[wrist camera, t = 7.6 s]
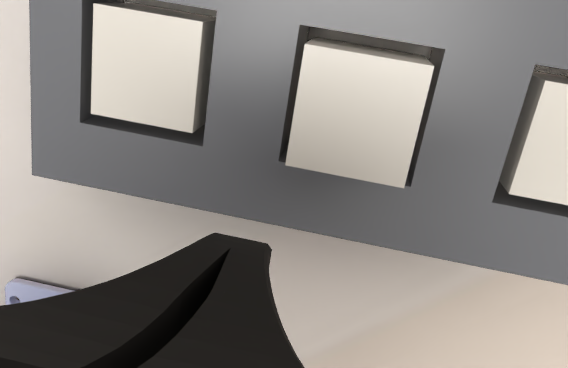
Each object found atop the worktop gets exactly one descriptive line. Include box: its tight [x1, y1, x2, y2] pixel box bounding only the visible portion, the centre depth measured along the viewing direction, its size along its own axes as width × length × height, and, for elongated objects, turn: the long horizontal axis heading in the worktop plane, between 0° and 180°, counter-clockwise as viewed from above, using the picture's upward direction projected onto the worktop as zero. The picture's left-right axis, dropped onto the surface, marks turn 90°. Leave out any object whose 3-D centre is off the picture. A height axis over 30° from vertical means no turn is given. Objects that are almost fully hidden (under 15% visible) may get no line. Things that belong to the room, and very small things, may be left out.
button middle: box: [285, 37, 434, 188], centre depth 17 cm, size 4×4×3 cm
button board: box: [29, 0, 568, 285], centre depth 18 cm, size 9×22×3 cm, turn 82°
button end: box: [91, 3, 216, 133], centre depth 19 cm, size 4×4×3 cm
